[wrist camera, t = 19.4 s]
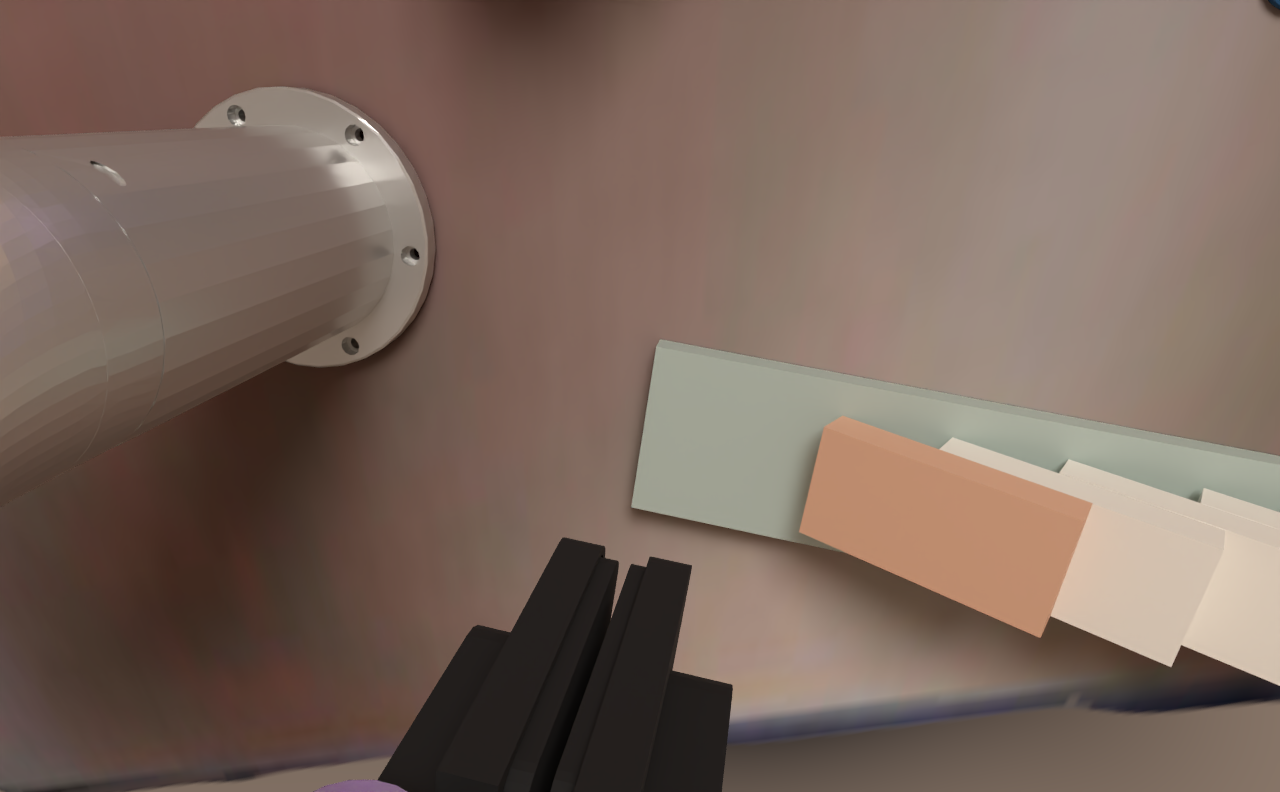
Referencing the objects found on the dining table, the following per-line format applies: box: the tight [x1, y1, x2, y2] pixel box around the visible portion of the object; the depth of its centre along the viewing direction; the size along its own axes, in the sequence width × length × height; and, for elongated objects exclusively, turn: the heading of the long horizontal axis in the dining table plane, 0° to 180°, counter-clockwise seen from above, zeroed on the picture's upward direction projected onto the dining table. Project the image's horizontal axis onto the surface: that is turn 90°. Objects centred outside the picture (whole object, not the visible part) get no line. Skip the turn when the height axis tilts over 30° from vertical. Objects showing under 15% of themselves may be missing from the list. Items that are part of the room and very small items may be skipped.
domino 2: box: [939, 437, 1225, 667], centre depth 33 cm, size 2×5×10 cm
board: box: [631, 339, 1280, 554], centre depth 37 cm, size 27×8×1 cm, turn 82°
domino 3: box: [1059, 459, 1280, 686], centre depth 32 cm, size 2×5×10 cm
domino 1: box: [799, 416, 1093, 638], centre depth 33 cm, size 2×5×10 cm
